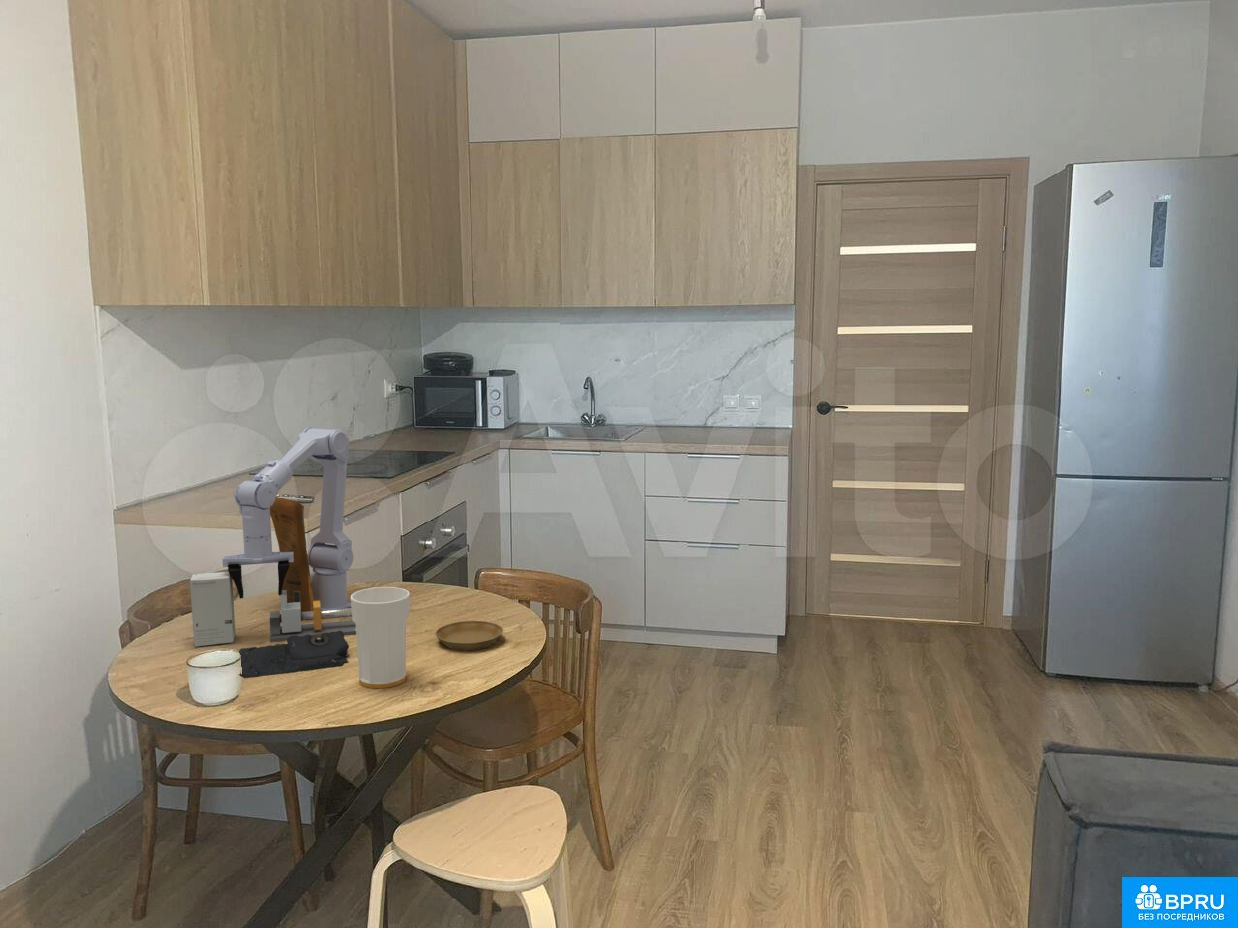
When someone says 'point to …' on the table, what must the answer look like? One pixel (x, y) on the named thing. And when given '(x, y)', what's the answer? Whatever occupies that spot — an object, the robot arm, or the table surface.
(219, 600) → the skincare box
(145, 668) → the table surface
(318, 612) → the orange wooden block
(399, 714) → the table surface
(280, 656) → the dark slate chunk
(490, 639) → the plant saucer
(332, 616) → the pipe
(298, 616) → the sleeve
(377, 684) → the cup
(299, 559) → the pancake mix bag
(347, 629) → the board
